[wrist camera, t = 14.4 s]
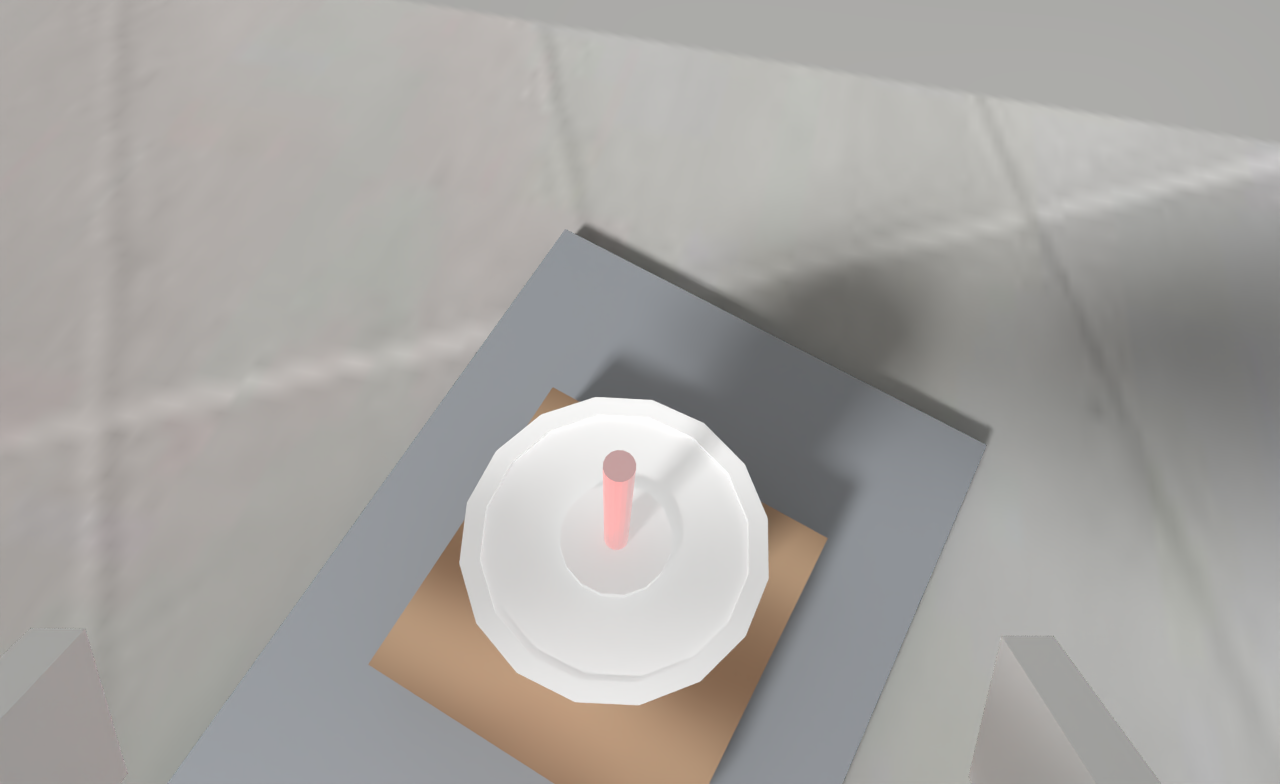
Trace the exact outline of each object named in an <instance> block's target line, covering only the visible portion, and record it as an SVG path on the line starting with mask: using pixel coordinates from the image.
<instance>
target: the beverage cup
mask: <svg viewBox="0 0 1280 784" xmlns="http://www.w3.org/2000/svg"><path fill="white" fill-rule="evenodd" d="M459 564H460V568H461V571H462V575H463V578H464V582H465V585H466V589H467V592H468V596H469V600H470V603H471V607H472V610H473V614H474V617H475V621H476V624H477V625H478V626H479V627H480V629H481V630H482V631H483V632H484V633H485V635H486V636H487V637H488V638H489V640H490V641H491V642H492V643H493V644H494V646H495V647H496V648H497V649H498V651H499V652H500V653H501V654H502V655H503V657H504V658H505V659H506V660H507V662H508V663H509V664H510V665H511V666H512V668H513V669H514V670H515V671H516V673H518V674H520V675H522V676H524V677H526V678H528V679H530V680H532V681H534V682H536V683H538V684H540V685H542V686H544V687H546V688H548V689H550V690H552V691H554V692H556V693H558V694H560V695H562V696H564V697H566V698H568V699H570V700H572V701H574V702H579V703H600V704H622V705H641V704H644V703H647V702H649V701H652V700H654V699H657V698H659V697H662V696H665V695H667V694H670V693H672V692H675V691H677V690H680V689H683V688H685V687H688V686H690V685H693V684H695V683H698V682H700V681H701V680H702V679H703V678H704V677H705V676H706V675H707V674H708V673H709V672H710V671H711V670H712V669H713V668H714V667H715V666H716V665H717V664H718V663H719V662H720V661H721V660H722V659H723V658H724V657H725V656H726V655H727V654H728V653H729V652H730V651H731V650H732V649H733V648H734V647H735V646H736V645H737V644H738V643H739V642H740V641H741V640H742V639H743V638H744V637H745V636H746V634H747V631H748V629H749V626H750V624H751V622H752V619H753V617H754V614H755V612H756V609H757V607H758V604H759V602H760V599H761V597H762V594H763V592H764V589H765V587H766V584H767V582H768V579H769V568H768V518H767V515H766V513H765V511H764V508H763V506H762V504H761V501H760V499H759V497H758V494H757V492H756V489H755V487H754V485H753V482H752V480H751V478H750V475H749V473H748V471H747V468H746V466H745V464H744V463H743V462H742V461H741V460H740V459H739V458H738V457H737V456H736V455H735V454H734V453H733V452H732V451H731V450H730V449H729V448H728V447H727V446H726V445H725V444H724V443H723V442H722V441H721V440H720V439H719V438H718V437H717V436H716V435H715V434H714V433H713V432H712V431H711V430H710V429H709V428H708V427H707V426H706V425H705V424H704V423H703V422H700V421H698V420H696V419H694V418H691V417H689V416H687V415H685V414H682V413H680V412H678V411H676V410H674V409H671V408H669V407H667V406H665V405H662V404H660V403H658V402H656V401H653V400H643V399H624V398H606V397H594V398H591V399H588V400H585V401H581V402H578V403H575V404H572V405H569V406H566V407H563V408H560V409H557V410H554V411H550V412H547V413H544V414H541V415H540V416H539V417H537V418H536V419H535V420H534V421H532V422H531V423H530V424H529V425H528V426H526V427H525V428H524V429H523V430H521V431H520V432H519V433H518V434H516V435H515V436H514V437H513V438H511V439H510V440H509V441H508V442H507V443H505V444H504V445H503V446H502V447H500V448H499V449H498V450H497V451H496V452H495V454H494V455H493V457H492V459H491V461H490V463H489V464H488V466H487V468H486V470H485V471H484V473H483V475H482V477H481V479H480V480H479V482H478V484H477V486H476V487H475V489H474V491H473V493H472V495H471V496H470V498H469V500H468V502H467V506H466V513H465V521H464V529H463V537H462V545H461V553H460V561H459Z"/></svg>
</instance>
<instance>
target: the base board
mask: <svg viewBox="0 0 1280 784" xmlns="http://www.w3.org/2000/svg"><path fill="white" fill-rule="evenodd" d="M552 387H554V388H555V389H557V390H559V391H561V392H563V393H564V394H566V395H568V396H570V397H572V398H574V399H575V400H577V401H579V402H581V401H585V400H588V399H591V398H594V397H606V398H624V399H643V400H653V401H656V402H658V403H660V404H662V405H665V406H667V407H669V408H671V409H674V410H676V411H678V412H680V413H682V414H685V415H687V416H689V417H691V418H694V419H696V420H698V421H700V422H703V423H704V424H705V425H706V426H707V427H708V428H709V429H710V430H711V431H712V432H713V433H714V434H715V435H716V436H717V437H718V438H719V439H720V440H721V441H722V442H723V443H724V444H725V445H726V446H727V447H728V448H729V449H730V450H731V451H732V452H733V453H734V454H735V455H736V456H737V457H738V458H739V459H740V460H741V461H742V462H743V463H744V464H745V466H746V468H747V471H748V473H749V475H750V478H751V480H752V482H753V485H754V487H755V489H756V492H757V494H758V497H759V499H760V501H761V502H763V503H765V504H766V505H768V506H770V507H772V508H774V509H775V510H777V511H779V512H781V513H783V514H785V515H786V516H788V517H790V518H792V519H794V520H795V521H797V522H799V523H801V524H803V525H805V526H806V527H808V528H810V529H812V530H814V531H815V532H817V533H819V534H821V535H823V536H825V537H826V538H828V539H827V541H826V543H825V545H824V547H823V549H822V551H821V553H820V556H819V558H818V560H817V562H816V564H815V566H814V568H813V570H812V572H811V574H810V576H809V578H808V580H807V582H806V584H805V587H804V589H803V591H802V593H801V595H800V597H799V599H798V601H797V603H796V605H795V607H794V609H793V611H792V613H791V615H790V618H789V620H788V622H787V624H786V626H785V628H784V630H783V632H782V634H781V636H780V638H779V640H778V642H777V644H776V646H775V649H774V651H773V653H772V655H771V657H770V659H769V661H768V663H767V665H766V667H765V669H764V671H763V673H762V675H761V677H760V680H759V682H758V684H757V686H756V688H755V690H754V692H753V694H752V696H751V698H750V700H749V702H748V704H747V706H746V708H745V711H744V713H743V715H742V717H741V719H740V721H739V723H738V725H737V727H736V729H735V731H734V733H733V735H732V737H731V739H730V742H729V744H728V746H727V748H726V750H725V752H724V754H723V756H722V758H721V760H720V762H719V764H718V766H717V768H716V770H715V773H714V775H713V777H712V779H711V781H710V783H709V784H843V781H844V779H845V777H846V774H847V772H848V770H849V767H850V765H851V763H852V760H853V758H854V756H855V753H856V751H857V748H858V746H859V744H860V741H861V739H862V737H863V734H864V732H865V730H866V727H867V725H868V723H869V720H870V718H871V716H872V713H873V711H874V709H875V706H876V704H877V702H878V699H879V697H880V695H881V692H882V690H883V687H884V685H885V683H886V680H887V678H888V676H889V673H890V671H891V669H892V666H893V664H894V662H895V659H896V657H897V655H898V652H899V650H900V648H901V645H902V643H903V641H904V638H905V636H906V634H907V631H908V629H909V626H910V624H911V622H912V619H913V617H914V615H915V612H916V610H917V608H918V605H919V603H920V601H921V598H922V596H923V594H924V591H925V589H926V587H927V584H928V582H929V580H930V577H931V575H932V573H933V570H934V568H935V565H936V563H937V561H938V558H939V556H940V554H941V551H942V549H943V547H944V544H945V542H946V540H947V537H948V535H949V533H950V530H951V528H952V526H953V523H954V521H955V519H956V516H957V514H958V512H959V509H960V507H961V504H962V502H963V500H964V497H965V495H966V493H967V490H968V488H969V486H970V483H971V481H972V479H973V476H974V474H975V472H976V469H977V467H978V465H979V462H980V460H981V458H982V455H983V453H984V451H985V448H986V446H987V445H986V444H984V443H982V442H980V441H978V440H976V439H974V438H972V437H970V436H968V435H966V434H964V433H962V432H960V431H959V430H957V429H955V428H953V427H951V426H949V425H947V424H945V423H943V422H941V421H939V420H937V419H935V418H933V417H931V416H929V415H927V414H925V413H923V412H921V411H919V410H918V409H916V408H914V407H912V406H910V405H908V404H906V403H904V402H902V401H900V400H898V399H896V398H894V397H892V396H890V395H888V394H886V393H884V392H882V391H880V390H878V389H877V388H875V387H873V386H871V385H869V384H867V383H865V382H863V381H861V380H859V379H857V378H855V377H853V376H851V375H849V374H847V373H845V372H843V371H841V370H839V369H838V368H836V367H834V366H832V365H830V364H828V363H826V362H824V361H822V360H820V359H818V358H816V357H814V356H812V355H810V354H808V353H806V352H804V351H802V350H800V349H798V348H797V347H795V346H793V345H791V344H789V343H787V342H785V341H783V340H781V339H779V338H777V337H775V336H773V335H771V334H769V333H767V332H765V331H763V330H761V329H759V328H757V327H756V326H754V325H752V324H750V323H748V322H746V321H744V320H742V319H740V318H738V317H736V316H734V315H732V314H730V313H728V312H726V311H724V310H722V309H720V308H718V307H716V306H715V305H713V304H711V303H709V302H707V301H705V300H703V299H701V298H699V297H697V296H695V295H693V294H691V293H689V292H687V291H685V290H683V289H681V288H679V287H677V286H675V285H674V284H672V283H670V282H668V281H666V280H664V279H662V278H660V277H658V276H656V275H654V274H652V273H650V272H648V271H646V270H644V269H642V268H640V267H638V266H636V265H634V264H633V263H631V262H629V261H627V260H625V259H623V258H621V257H619V256H617V255H615V254H613V253H611V252H609V251H607V250H605V249H603V248H601V247H599V246H597V245H595V244H594V243H592V242H590V241H588V240H586V239H584V238H582V237H580V236H578V235H576V234H574V233H572V232H570V231H568V230H566V229H565V230H564V232H563V233H562V235H561V236H560V237H559V239H558V240H557V242H556V243H555V244H554V246H553V247H552V248H551V250H550V251H549V253H548V254H547V255H546V257H545V258H544V260H543V261H542V262H541V264H540V265H539V267H538V268H537V269H536V271H535V272H534V274H533V275H532V276H531V278H530V279H529V280H528V282H527V283H526V285H525V286H524V287H523V289H522V290H521V292H520V293H519V294H518V296H517V297H516V299H515V300H514V301H513V303H512V304H511V306H510V307H509V308H508V310H507V311H506V313H505V314H504V315H503V317H502V318H501V319H500V321H499V322H498V324H497V325H496V326H495V328H494V329H493V331H492V332H491V333H490V335H489V336H488V338H487V339H486V340H485V342H484V343H483V345H482V346H481V347H480V349H479V350H478V352H477V353H476V354H475V356H474V357H473V358H472V360H471V361H470V363H469V364H468V365H467V367H466V368H465V370H464V371H463V372H462V374H461V375H460V377H459V378H458V379H457V381H456V382H455V384H454V385H453V386H452V388H451V389H450V391H449V392H448V393H447V395H446V396H445V397H444V399H443V400H442V402H441V403H440V404H439V406H438V407H437V409H436V410H435V411H434V413H433V414H432V416H431V417H430V418H429V420H428V421H427V423H426V424H425V425H424V427H423V428H422V430H421V431H420V432H419V434H418V435H417V436H416V438H415V439H414V441H413V442H412V443H411V445H410V446H409V448H408V449H407V450H406V452H405V453H404V455H403V456H402V457H401V459H400V460H399V462H398V463H397V464H396V466H395V467H394V469H393V470H392V471H391V473H390V474H389V475H388V477H387V478H386V480H385V481H384V482H383V484H382V485H381V487H380V488H379V489H378V491H377V492H376V494H375V495H374V496H373V498H372V499H371V501H370V502H369V503H368V505H367V506H366V507H365V509H364V510H363V512H362V513H361V514H360V516H359V517H358V519H357V520H356V521H355V523H354V524H353V526H352V527H351V528H350V530H349V531H348V533H347V534H346V535H345V537H344V538H343V540H342V541H341V542H340V544H339V545H338V546H337V548H336V549H335V551H334V552H333V553H332V555H331V556H330V558H329V559H328V560H327V562H326V563H325V565H324V566H323V567H322V569H321V570H320V572H319V573H318V574H317V576H316V577H315V579H314V580H313V581H312V583H311V584H310V585H309V587H308V588H307V590H306V591H305V592H304V594H303V595H302V597H301V598H300V599H299V601H298V602H297V604H296V605H295V606H294V608H293V609H292V611H291V612H290V613H289V615H288V616H287V618H286V619H285V620H284V622H283V623H282V624H281V626H280V627H279V629H278V630H277V631H276V633H275V634H274V636H273V637H272V638H271V640H270V641H269V643H268V644H267V645H266V647H265V648H264V650H263V651H262V652H261V654H260V655H259V657H258V658H257V659H256V661H255V662H254V663H253V665H252V666H251V668H250V669H249V670H248V672H247V673H246V675H245V676H244V677H243V679H242V680H241V682H240V683H239V684H238V686H237V687H236V689H235V690H234V691H233V693H232V694H231V695H230V697H229V698H228V700H227V701H226V702H225V704H224V705H223V707H222V708H221V709H220V711H219V712H218V714H217V715H216V716H215V718H214V719H213V721H212V722H211V723H210V725H209V726H208V728H207V729H206V730H205V732H204V733H203V734H202V736H201V737H200V739H199V740H198V741H197V743H196V744H195V746H194V747H193V748H192V750H191V751H190V753H189V754H188V755H187V757H186V758H185V760H184V761H183V762H182V764H181V765H180V767H179V768H178V769H177V771H176V772H175V773H174V775H173V776H172V778H171V779H170V780H169V782H168V783H167V784H554V783H552V782H551V781H549V780H548V779H546V778H545V777H543V776H541V775H540V774H538V773H537V772H535V771H534V770H532V769H531V768H529V767H527V766H526V765H524V764H523V763H521V762H520V761H518V760H516V759H515V758H513V757H512V756H510V755H509V754H507V753H506V752H504V751H502V750H501V749H499V748H498V747H496V746H495V745H493V744H491V743H490V742H488V741H487V740H485V739H484V738H482V737H481V736H479V735H477V734H476V733H474V732H473V731H471V730H470V729H468V728H466V727H465V726H463V725H462V724H460V723H459V722H457V721H456V720H454V719H452V718H451V717H449V716H448V715H446V714H445V713H443V712H441V711H440V710H438V709H437V708H435V707H434V706H432V705H431V704H429V703H427V702H426V701H424V700H423V699H421V698H420V697H418V696H416V695H415V694H413V693H412V692H410V691H409V690H407V689H406V688H404V687H402V686H401V685H399V684H398V683H396V682H395V681H393V680H391V679H390V678H388V677H387V676H385V675H384V674H382V673H381V672H379V671H377V670H376V669H374V668H373V667H371V666H370V665H368V664H369V662H370V661H371V659H372V658H373V656H374V655H375V653H376V652H377V650H378V649H379V647H380V646H381V644H382V643H383V641H384V640H385V638H386V637H387V635H388V634H389V632H390V631H391V629H392V628H393V626H394V625H395V623H396V622H397V620H398V619H399V617H400V616H401V614H402V613H403V611H404V610H405V608H406V607H407V605H408V604H409V602H410V601H411V599H412V598H413V596H414V595H415V593H416V592H417V590H418V589H419V587H420V586H421V584H422V583H423V581H424V580H425V578H426V577H427V575H428V574H429V572H430V571H431V569H432V568H433V566H434V565H435V563H436V562H437V560H438V559H439V557H440V556H441V554H442V553H443V551H444V550H445V548H446V547H447V545H448V544H449V542H450V541H451V539H452V538H453V536H454V535H455V533H456V532H457V530H458V529H459V527H460V526H461V524H462V523H463V521H464V520H465V513H466V506H467V502H468V500H469V498H470V496H471V495H472V493H473V491H474V489H475V487H476V486H477V484H478V482H479V480H480V479H481V477H482V475H483V473H484V471H485V470H486V468H487V466H488V464H489V463H490V461H491V459H492V457H493V455H494V454H495V452H496V451H497V450H498V449H499V448H500V447H502V446H503V445H504V444H505V443H507V442H508V441H509V440H510V439H511V438H513V437H514V436H515V435H516V434H518V433H519V432H520V431H521V430H523V429H524V428H525V427H526V426H527V425H528V423H529V422H530V420H531V419H532V417H533V416H534V414H535V413H536V411H537V410H538V408H539V407H540V405H541V404H542V402H543V401H544V399H545V398H546V396H547V395H548V393H549V392H550V390H551V389H552Z"/></svg>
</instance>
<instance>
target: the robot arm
mask: <svg viewBox="0 0 1280 784" xmlns="http://www.w3.org/2000/svg"><path fill="white" fill-rule="evenodd" d="M127 774H128V773H127V769H126V766H125V762H124V759H123V756H122V752H121V749H120V745H119V742H118V739H117V735H116V732H115V728H114V725H113V721H112V718H111V715H110V711H109V708H108V704H107V701H106V698H105V694H104V691H103V687H102V684H101V680H100V677H99V674H98V670H97V667H96V663H95V660H94V656H93V653H92V650H91V646H90V643H89V639H88V636H87V633H86V629H80V628H30V629H29V630H28V631H27V632H26V633H25V634H24V635H23V636H22V637H21V638H20V639H19V640H18V641H17V642H16V643H15V644H14V645H12V646H11V647H10V648H9V649H8V650H7V651H6V652H5V653H4V654H3V655H2V656H1V657H0V784H121V782H122V781H123V779H124V778H125V777H126V775H127ZM968 777H969V779H970V781H971V784H1161V783H1160V781H1159V780H1158V778H1157V777H1156V776H1155V774H1154V773H1153V772H1152V770H1151V769H1150V768H1149V766H1148V765H1147V763H1146V762H1145V761H1144V759H1143V758H1142V757H1141V755H1140V754H1139V752H1138V751H1137V750H1136V748H1135V747H1134V746H1133V744H1132V743H1131V741H1130V740H1129V739H1128V737H1127V736H1126V735H1125V733H1124V732H1123V731H1122V729H1121V728H1120V726H1119V725H1118V724H1117V722H1116V721H1115V720H1114V718H1113V717H1112V715H1111V714H1110V713H1109V711H1108V710H1107V709H1106V707H1105V706H1104V704H1103V703H1102V702H1101V700H1100V699H1099V698H1098V696H1097V695H1096V694H1095V692H1094V691H1093V689H1092V688H1091V687H1090V685H1089V684H1088V683H1087V681H1086V680H1085V678H1084V677H1083V676H1082V674H1081V673H1080V672H1079V670H1078V669H1077V667H1076V666H1075V665H1074V663H1073V662H1072V661H1071V659H1070V658H1069V657H1068V655H1067V654H1066V652H1065V651H1064V650H1063V648H1062V647H1061V646H1060V644H1059V643H1058V641H1057V640H1056V639H1055V637H1054V636H1001V640H1000V645H999V649H998V653H997V657H996V662H995V666H994V670H993V674H992V678H991V683H990V687H989V691H988V695H987V700H986V704H985V708H984V712H983V717H982V721H981V725H980V729H979V733H978V738H977V742H976V746H975V750H974V755H973V759H972V763H971V767H970V772H969V776H968Z"/></svg>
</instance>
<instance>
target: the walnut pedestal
mask: <svg viewBox="0 0 1280 784" xmlns="http://www.w3.org/2000/svg"><path fill="white" fill-rule="evenodd" d="M578 402H579V401H577V400H575V399H574V398H572V397H570V396H568V395H566V394H564V393H563V392H561V391H559V390H557V389H555V388H554V387H552V389H551V390H550V392H549V393H548V395H547V396H546V398H545V399H544V401H543V402H542V404H541V405H540V407H539V408H538V410H537V411H536V413H535V414H534V416H533V417H532V419H531V420H530V422H529V423H528V425H529V424H530V423H531V422H532V421H534V420H535V419H536V418H537V417H539V416H540V415H541V414H544V413H547V412H550V411H554V410H557V409H560V408H563V407H566V406H569V405H572V404H575V403H578ZM528 425H527V426H528ZM761 504H762V506H763V508H764V511H765V513H766V515H767V518H768V568H769V579H768V582H767V584H766V587H765V589H764V592H763V594H762V597H761V599H760V602H759V604H758V607H757V609H756V612H755V614H754V617H753V619H752V622H751V624H750V626H749V629H748V631H747V634H746V636H745V637H744V638H743V639H742V640H741V641H740V642H739V643H738V644H737V645H736V646H735V647H734V648H733V649H732V650H731V651H730V652H729V653H728V654H727V655H726V656H725V657H724V658H723V659H722V660H721V661H720V662H719V663H718V664H717V665H716V666H715V667H714V668H713V669H712V670H711V671H710V672H709V673H708V674H707V675H706V676H705V677H704V678H703V679H702V680H701V681H700V682H698V683H695V684H693V685H690V686H688V687H685V688H683V689H680V690H677V691H675V692H672V693H670V694H667V695H665V696H662V697H659V698H657V699H654V700H652V701H649V702H647V703H644V704H641V705H622V704H600V703H579V702H574V701H572V700H570V699H568V698H566V697H564V696H562V695H560V694H558V693H556V692H554V691H552V690H550V689H548V688H546V687H544V686H542V685H540V684H538V683H536V682H534V681H532V680H530V679H528V678H526V677H524V676H522V675H520V674H518V673H516V671H515V670H514V669H513V668H512V666H511V665H510V664H509V663H508V662H507V660H506V659H505V658H504V657H503V655H502V654H501V653H500V652H499V651H498V649H497V648H496V647H495V646H494V644H493V643H492V642H491V641H490V640H489V638H488V637H487V636H486V635H485V633H484V632H483V631H482V630H481V629H480V627H479V626H478V625H477V624H476V621H475V617H474V614H473V610H472V607H471V603H470V600H469V596H468V592H467V589H466V585H465V582H464V578H463V575H462V571H461V568H460V564H459V561H460V553H461V545H462V537H463V529H464V521H465V520H464V521H463V523H462V524H461V526H460V527H459V529H458V530H457V532H456V533H455V535H454V536H453V538H452V539H451V541H450V542H449V544H448V545H447V547H446V548H445V550H444V551H443V553H442V554H441V556H440V557H439V559H438V560H437V562H436V563H435V565H434V566H433V568H432V569H431V571H430V572H429V574H428V575H427V577H426V578H425V580H424V581H423V583H422V584H421V586H420V587H419V589H418V590H417V592H416V593H415V595H414V596H413V598H412V599H411V601H410V602H409V604H408V605H407V607H406V608H405V610H404V611H403V613H402V614H401V616H400V617H399V619H398V620H397V622H396V623H395V625H394V626H393V628H392V629H391V631H390V632H389V634H388V635H387V637H386V638H385V640H384V641H383V643H382V644H381V646H380V647H379V649H378V650H377V652H376V653H375V655H374V656H373V658H372V659H371V661H370V662H369V664H368V665H370V666H371V667H373V668H374V669H376V670H377V671H379V672H381V673H382V674H384V675H385V676H387V677H388V678H390V679H391V680H393V681H395V682H396V683H398V684H399V685H401V686H402V687H404V688H406V689H407V690H409V691H410V692H412V693H413V694H415V695H416V696H418V697H420V698H421V699H423V700H424V701H426V702H427V703H429V704H431V705H432V706H434V707H435V708H437V709H438V710H440V711H441V712H443V713H445V714H446V715H448V716H449V717H451V718H452V719H454V720H456V721H457V722H459V723H460V724H462V725H463V726H465V727H466V728H468V729H470V730H471V731H473V732H474V733H476V734H477V735H479V736H481V737H482V738H484V739H485V740H487V741H488V742H490V743H491V744H493V745H495V746H496V747H498V748H499V749H501V750H502V751H504V752H506V753H507V754H509V755H510V756H512V757H513V758H515V759H516V760H518V761H520V762H521V763H523V764H524V765H526V766H527V767H529V768H531V769H532V770H534V771H535V772H537V773H538V774H540V775H541V776H543V777H545V778H546V779H548V780H549V781H551V782H552V783H554V784H709V783H710V781H711V779H712V777H713V775H714V773H715V770H716V768H717V766H718V764H719V762H720V760H721V758H722V756H723V754H724V752H725V750H726V748H727V746H728V744H729V742H730V739H731V737H732V735H733V733H734V731H735V729H736V727H737V725H738V723H739V721H740V719H741V717H742V715H743V713H744V711H745V708H746V706H747V704H748V702H749V700H750V698H751V696H752V694H753V692H754V690H755V688H756V686H757V684H758V682H759V680H760V677H761V675H762V673H763V671H764V669H765V667H766V665H767V663H768V661H769V659H770V657H771V655H772V653H773V651H774V649H775V646H776V644H777V642H778V640H779V638H780V636H781V634H782V632H783V630H784V628H785V626H786V624H787V622H788V620H789V618H790V615H791V613H792V611H793V609H794V607H795V605H796V603H797V601H798V599H799V597H800V595H801V593H802V591H803V589H804V587H805V584H806V582H807V580H808V578H809V576H810V574H811V572H812V570H813V568H814V566H815V564H816V562H817V560H818V558H819V556H820V553H821V551H822V549H823V547H824V545H825V543H826V541H827V539H828V538H826V537H825V536H823V535H821V534H819V533H817V532H815V531H814V530H812V529H810V528H808V527H806V526H805V525H803V524H801V523H799V522H797V521H795V520H794V519H792V518H790V517H788V516H786V515H785V514H783V513H781V512H779V511H777V510H775V509H774V508H772V507H770V506H768V505H766V504H765V503H763V502H761Z"/></svg>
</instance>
